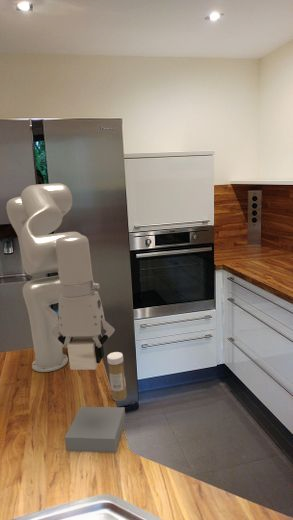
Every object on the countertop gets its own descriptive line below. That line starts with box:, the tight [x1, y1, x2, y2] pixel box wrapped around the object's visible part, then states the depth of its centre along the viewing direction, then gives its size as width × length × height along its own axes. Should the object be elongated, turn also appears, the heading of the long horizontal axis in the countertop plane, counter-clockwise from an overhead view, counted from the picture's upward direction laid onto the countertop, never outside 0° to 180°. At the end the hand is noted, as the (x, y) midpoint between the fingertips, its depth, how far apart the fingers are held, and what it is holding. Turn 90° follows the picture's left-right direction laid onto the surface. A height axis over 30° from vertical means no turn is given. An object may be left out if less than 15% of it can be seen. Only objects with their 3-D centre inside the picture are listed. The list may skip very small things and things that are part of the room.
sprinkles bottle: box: [106, 351, 128, 402], centre depth 103 cm, size 5×5×14 cm
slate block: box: [64, 406, 126, 454], centre depth 89 cm, size 12×12×4 cm
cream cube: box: [67, 337, 99, 371], centre depth 85 cm, size 6×6×6 cm
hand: (86, 360), depth 85 cm, fingers closed on cream cube, 6 cm apart
